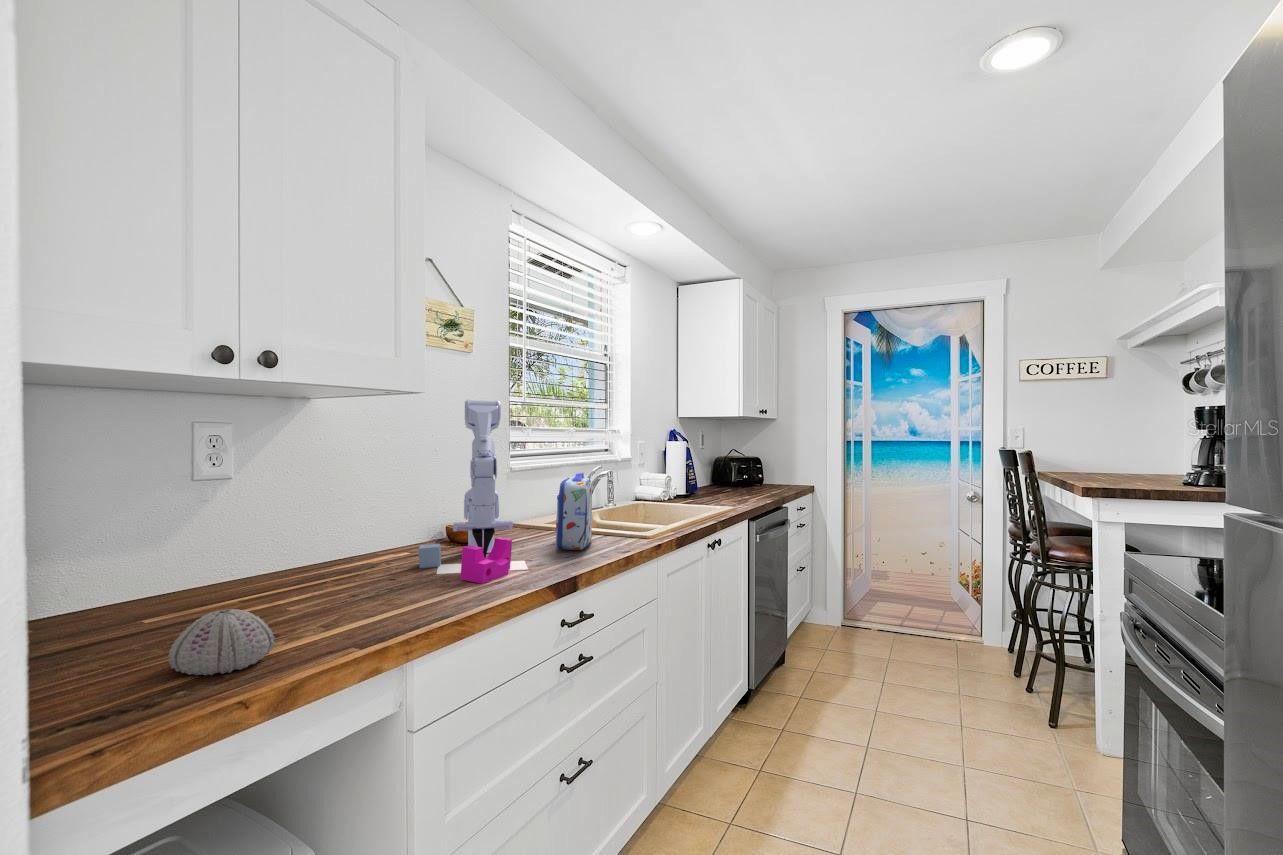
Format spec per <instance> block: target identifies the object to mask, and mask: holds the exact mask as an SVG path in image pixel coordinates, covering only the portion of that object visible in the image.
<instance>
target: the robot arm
mask: <svg viewBox="0 0 1283 855" xmlns="http://www.w3.org/2000/svg"><path fill="white" fill-rule="evenodd" d="M501 409H502V407H501V401H499V399H497V400H481V399H480V400H477V399H475V400H474V399H466V400H465V401H464V423H465V424H464V425H465V428H467V429H469V430H471V431H472V433H473V436H474V439H473V440H472V442H471V450H472V451H471V459H470V465H469V466H470V470H469V471H470V472H469V473H470V476H469V477H470V481H471V482H470V483H471V484H470V485H471V488H469V489H468V490H467V491H465V494H464V500H463V518H464V519H465V520H467V521H458V522H453V523H452V531H453V532H466V531H468V532H467V534H468V535H467V536H468V541H467V543H468V544H467V546H469V545H471V546H476V547H482V548H483V554H484V557H485V558H486V557H487V554H490V552H491V550H492V548H493V545H494V541H495V530H513V529H514V528H513V527H514V521H513V520H497V519H498V518H499V517H500V516H499V515H500V503H499V502H500V500H499V493H498V491H497V490H496V480H497V477H498V461H497V455H496V451H495V450H496V449H495V448H496V447H495V441H494V439H493V438H492V437H491V434H492V431H493V430H496V429H498V428H499V426H500V421H501V415H502V414H501Z"/></svg>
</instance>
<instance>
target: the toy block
mask: <svg viewBox="0 0 1283 855" xmlns="http://www.w3.org/2000/svg"><path fill="white" fill-rule="evenodd" d="M512 545H513V539H512V538H507V537H501V536H499V537H496V538H495V537H494V545H493V548H492V550H491V552H490V553H488V555H486V558H485V557H484V554H483V548H482V547H476V546H471V545H469V546H468V545H466V546H462V547H461V548H462V550H461V561H460V562H461V563H460V564H461V573H460V579H459V580H463V581H468V582H472V583H477V584H482V585H483V584H487V583H488V582H489V583H490V582H491V581H494V580H497V579H499V578H502V577H504V576H507V575H509V571H508V569H510V564H511V561H512V548H513V547H512Z"/></svg>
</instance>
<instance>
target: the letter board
mask: <svg viewBox="0 0 1283 855" xmlns="http://www.w3.org/2000/svg"><path fill="white" fill-rule="evenodd" d="M436 569H437V570H436V575H453V574H461V563H446V564H445V563H444V564H443V563H441V565H440V566H439V567H437V568H436ZM516 571H529V569H528V566H527V564H526V561H525V560H511V564H510V569H508V572H516Z"/></svg>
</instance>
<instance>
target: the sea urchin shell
mask: <svg viewBox="0 0 1283 855" xmlns="http://www.w3.org/2000/svg"><path fill="white" fill-rule="evenodd" d="M275 638H276V637H275V636H274V632H273V629H271V627H269V624H267V623H265V620H264V619H262V618H260V616H259V615H255V614H254V613H253V612H249V611H246V610H242V609H238V608H237V609H235V608H228V609H224V608H223V609H221V610H220V609H219V610H215V611H212V612H208V613H207V614H205V615H201V616H200V618H197V619H196V620H195V621H193V623H192V624H190V625H189V626H186V628H185V629H184V630H183V631H182V632H180V634H179V636H178V637H177V638H176V639H174V643H172V644H171V646H170V649H169V650H168V652H169V653H168V655H167V657H168V658H169V660H168V664H170V668H171V669H174V670H175V672H180V673H181V674H187V675H188V676H189V675H190V676H191V675H194V676H199V675H200V676H201V675H204V676H209V675H210V676H213V675H216V674H221V675H224V674H225V673H230V674H231V673H232V672H234V671H235V670H238V671H240V670H242V669H246V668H248V667H249V666H251V665H255V664H257V663H258V662H259V661H261V660H263V659H264V658H265V656H266V655H269V654H270V651H271V650H273V646H274V645H275V644H276V642H275V641H274V640H275Z"/></svg>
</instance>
